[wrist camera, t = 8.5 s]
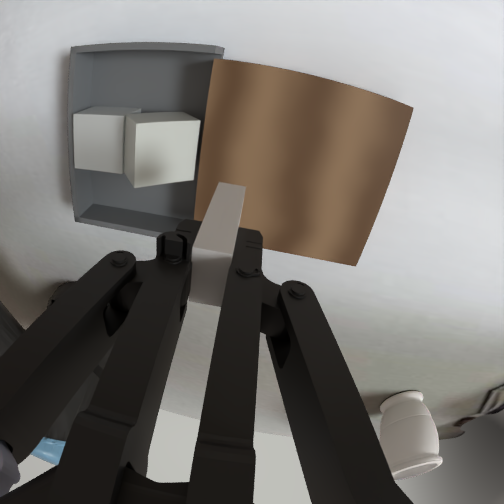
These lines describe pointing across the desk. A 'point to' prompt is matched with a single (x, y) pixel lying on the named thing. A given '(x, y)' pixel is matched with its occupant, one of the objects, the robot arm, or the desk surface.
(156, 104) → the tray
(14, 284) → the desk surface
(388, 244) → the desk surface
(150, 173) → the tile
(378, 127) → the board
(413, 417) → the jar
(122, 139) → the light grey block
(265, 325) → the robot arm
